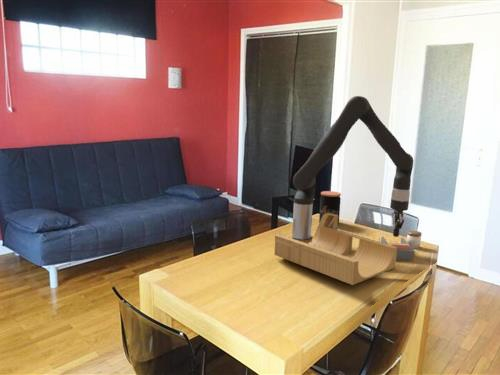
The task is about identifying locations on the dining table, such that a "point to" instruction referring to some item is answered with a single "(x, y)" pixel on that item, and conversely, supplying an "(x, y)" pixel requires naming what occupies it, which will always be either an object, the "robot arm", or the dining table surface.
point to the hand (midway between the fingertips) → (395, 236)
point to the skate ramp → (338, 253)
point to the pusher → (402, 246)
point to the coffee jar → (330, 203)
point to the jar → (414, 239)
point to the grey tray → (402, 251)
